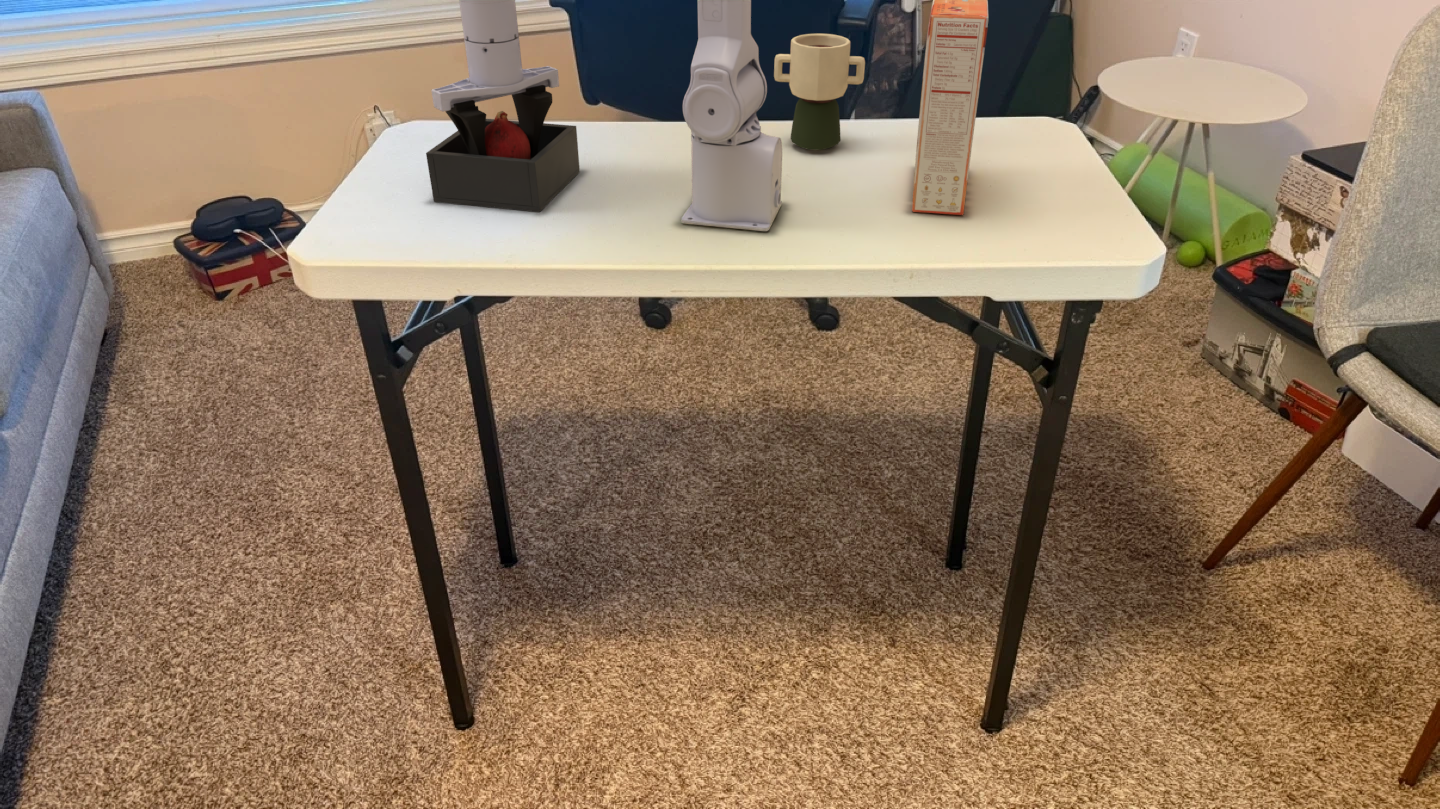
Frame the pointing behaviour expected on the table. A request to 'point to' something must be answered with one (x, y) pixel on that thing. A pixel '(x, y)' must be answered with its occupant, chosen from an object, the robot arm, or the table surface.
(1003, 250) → the table surface
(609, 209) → the table surface
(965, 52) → the cracker box
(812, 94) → the beige and green cup
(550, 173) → the open storage bin
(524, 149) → the onion
